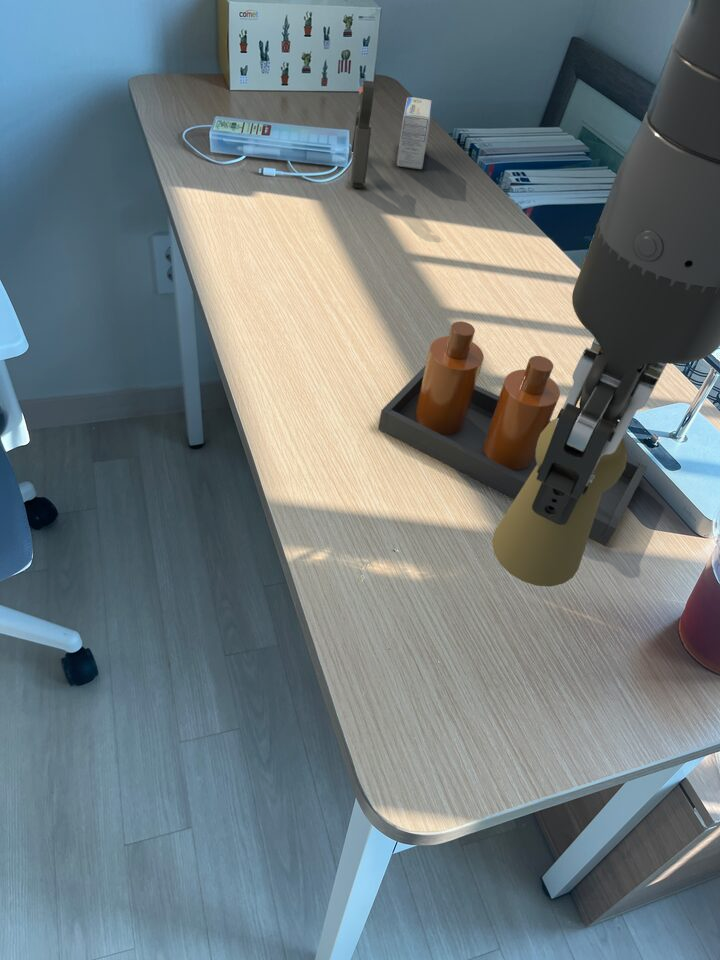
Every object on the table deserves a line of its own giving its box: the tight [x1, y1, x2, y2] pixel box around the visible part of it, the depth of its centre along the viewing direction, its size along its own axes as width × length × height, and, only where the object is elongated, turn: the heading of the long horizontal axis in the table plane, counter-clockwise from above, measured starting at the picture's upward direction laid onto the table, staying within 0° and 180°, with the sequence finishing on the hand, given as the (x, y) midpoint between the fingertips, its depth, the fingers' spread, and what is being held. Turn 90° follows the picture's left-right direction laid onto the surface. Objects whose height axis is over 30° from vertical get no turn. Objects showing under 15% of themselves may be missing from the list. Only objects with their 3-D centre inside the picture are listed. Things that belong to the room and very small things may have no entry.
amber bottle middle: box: [483, 355, 561, 470], centre depth 77 cm, size 6×6×12 cm
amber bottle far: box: [415, 321, 484, 434], centre depth 79 cm, size 6×6×12 cm
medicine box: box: [396, 96, 433, 170], centre depth 127 cm, size 8×4×9 cm, turn 174°
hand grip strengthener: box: [350, 80, 375, 189], centre depth 119 cm, size 2×12×15 cm, turn 1°
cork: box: [491, 417, 628, 587], centre depth 47 cm, size 6×6×11 cm
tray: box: [377, 364, 648, 547], centre depth 81 cm, size 27×11×3 cm, turn 58°
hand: (566, 485), depth 47 cm, fingers closed on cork, 5 cm apart
